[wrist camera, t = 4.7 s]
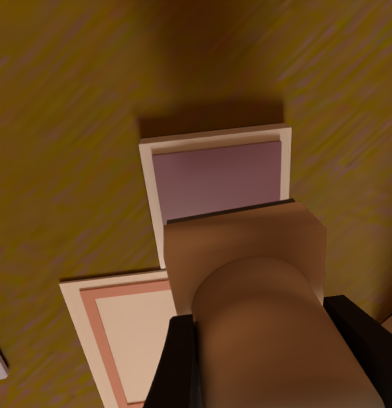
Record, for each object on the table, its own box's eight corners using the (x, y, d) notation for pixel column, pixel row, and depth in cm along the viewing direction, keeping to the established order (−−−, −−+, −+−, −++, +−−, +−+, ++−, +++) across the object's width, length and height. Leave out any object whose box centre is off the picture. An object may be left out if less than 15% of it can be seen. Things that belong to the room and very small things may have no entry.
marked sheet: (108, 414, 28) (107, 418, 27) (60, 282, 21) (58, 285, 21) (265, 394, 28) (266, 398, 27) (265, 257, 21) (267, 260, 21)
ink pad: (161, 257, 21) (160, 271, 19) (140, 138, 17) (138, 146, 16) (280, 243, 21) (288, 256, 19) (284, 122, 17) (293, 128, 16)
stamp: (184, 316, 14) (201, 508, 8) (163, 218, 12) (163, 386, 6) (295, 295, 14) (391, 471, 8) (295, 195, 12) (427, 337, 6)
